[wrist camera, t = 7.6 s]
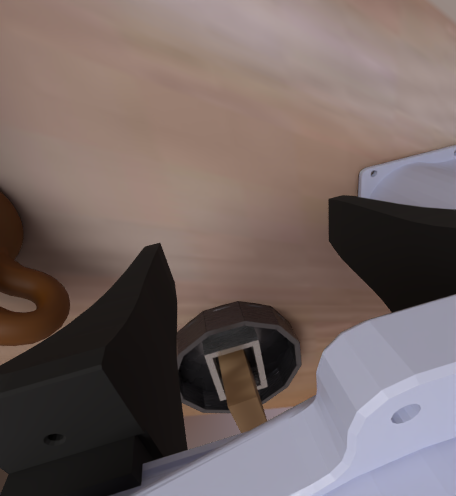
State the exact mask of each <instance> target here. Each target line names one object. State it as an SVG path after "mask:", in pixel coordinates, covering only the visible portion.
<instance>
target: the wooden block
mask: <svg viewBox="0 0 456 496" xmlns="http://www.w3.org/2000/svg"><path fill="white" fill-rule="evenodd" d="M218 359H219V364H220V369H221V374H222V380H223V385H224V390H225V395H226V400H227V405H228V408H229V410H230V412H231V414H232V416H233V418H234V420H235V422H236V424H237V426H238V428H239V430H240V431H241V433H244V432H247V431H250V430H252V429H253V428H255V427H257V426H259V425H261V424H263V423H265V422H266V421H267V419H266V416H265V413H264V409H263V406H262V403H261V399H260V396H259V393H258V389H257V386H256V383H255V380H254V376H253V373H252V370H251V366H250V363H249V361H248V358H247V355H246V353H245V350H244V349H242V350H238V351H235V352H231V353H228V354H225V355H221V356H218Z"/></svg>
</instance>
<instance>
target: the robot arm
mask: <svg viewBox="0 0 456 496" xmlns="http://www.w3.org/2000/svg"><path fill="white" fill-rule="evenodd" d="M455 150H456V145H453V146H449V147H445V148H441V149H437V150H434V151H430V152H426V153H422V154H418V155H414V156H410V157H406V158H402V159H398V160H394V161H390V162H386V163H382V164H378V165H374V166H371V167H367V168H364V169H362V170H361V172H360V174H359V189H358V197H356V196H345V195H342V196H338V197H334V198H331V199H329V242H330V243H331V245H332V246H333V248H334V249H335V250H336V252H337V253H338V254H339V256H340V257H341V258H342V259H343V260H344V261H345V262H346V263H347V264H348V265H349V267H350V268H351V269H352V270H353V271H354V272H355V273H356V274H357V275H358V276H359V277H360V278H361V279H362V280H363V281H364V282H365V283H366V284H367V285H368V286H369V287H370V288H371V289H372V290H373V291H374V292H375V293H376V294H377V295H378V296H379V297H380V298H381V299H382V300H383V302H384V303H385V304H386V305H387V307H388V308H389V309H390V310H391V312H392V313H390V314H386V315H383V316H379V317H376V318H372V319H369V320H366V321H363V322H361V323H359V324H357V325H355V326H353V327H351V328H349V329H347V330H345V331H343V332H341V333H340V334H339V335H338V336H337V337H336V338H335V339H334V340H333V341H332V342H331V343H330V344H329V345H328V346H327V347H326V348H325V349H324V351H323V353H322V356H321V359H320V362H319V365H318V368H317V372H316V376H317V394H316V395H315V396H313V397H311V398H309V399H307V400H306V401H304V402H302V403H300V404H298V405H296V406H294V407H293V408H291V409H289V410H287V411H285V412H283V413H282V414H280V415H278V416H276V417H274V418H272V419H270V420H268V421H266V422H265V423H263V424H261V425H259V426H257V427H255V428H253V429H252V430H250V431H247V432H244V433H240V434H237V435H234V436H231V437H228V438H224V439H221V440H218V441H215V442H211V443H208V444H205V445H202V446H199V447H195V448H192V449H189V450H188V449H187V442H186V435H185V427H184V419H183V411H182V403H181V394H180V385H179V375H178V365H177V297H176V289H175V282H174V280H173V277H172V274H171V271H170V268H169V266H168V263H167V260H166V257H165V255H164V252H163V249H162V246H161V244H160V243H157V244H153V245H149V246H146V247H144V248H143V250H142V251H141V252H140V253H139V255H138V256H137V257H136V259H135V260H134V261H133V262H132V264H131V265H130V266H129V268H128V269H127V270H126V271H125V273H124V274H123V275H122V276H121V277H120V278H119V279H118V280H117V282H116V283H115V284H114V285H113V286H112V287H111V288H110V289H109V290H108V291H107V292H106V293H105V294H104V295H103V296H102V297H101V298H100V299H99V300H98V301H97V302H96V303H94V304H93V305H92V306H91V307H90V308H89V309H87V310H86V311H85V312H84V313H82V314H81V315H80V316H78V317H77V318H76V319H75V320H73V321H72V322H71V323H69V324H68V325H67V326H65V327H64V328H62V329H61V330H59V331H58V332H56V333H55V334H53V335H52V336H50V337H49V338H47V339H46V340H44V341H43V342H41V343H39V344H38V345H36V346H34V347H33V348H31V349H29V350H27V351H26V352H24V353H22V354H20V355H18V356H17V357H15V358H13V359H11V360H10V361H8V362H6V363H4V364H2V365H0V468H1V469H2V470H4V471H5V472H6V473H8V474H9V475H8V477H7V480H6V482H5V485H4V487H3V490H2V492H0V496H456V151H455ZM454 152H455V153H454ZM372 171H374V173H373V174H372V175H371V172H372Z"/></svg>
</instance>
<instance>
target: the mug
mask: <svg viewBox="0 0 456 496" xmlns="http://www.w3.org/2000/svg"><path fill="white" fill-rule="evenodd" d="M23 234H24V232H23V226H22V222H21V219H20V217H19V215H18V213H17V211H16V209H15V208H14V206H13V205H12V203H11V202H10V201H9V200H8V199H7V198H6V197H5V196H4V195H3V194H2V193H1V192H0V292H2V293H5V294H8V295H11V296H16V297H21V298H25V299H28V300H31V301H32V302H34V303H35V304H36V306H37V309H36V310H35V311H32V312H26V313H22V312H13V311H9V310H7V309H5V308H2V307H0V345H2V346H17V345H25V344H33V343H35V342H38V341H40V340H43V339H45V338H47V337H49V336H50V335H52V334H53V333H54V332H55V331H57V330H58V329H59V328H60V327H61V326H62V325H63V323H64V321H65V320H66V318H67V316H68V314H69V309H70V301H69V296H68V293H67V291H66V290H65V288H64V287H63V286H62V284H60V283H59V282H58V281H57V280H56V279H55V278H53V277H52V276H50V275H48V274H46V273H43V272H40V271H37V270H34V269H30V268H27V267H23V266H22V265H20V264H19V263H18V262H16V261H14V259H15V258H16V256H17V255H18V253H19V251H20V249H21V246H22V243H23Z"/></svg>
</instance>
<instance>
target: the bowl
mask: <svg viewBox="0 0 456 496" xmlns="http://www.w3.org/2000/svg"><path fill="white" fill-rule="evenodd" d="M242 349H244V350H245V353H246V355H247V358H248V361H249V363H250V366H251V370H252V373H253V376H254V380H255V383H256V386H257V389H258V393H259V396H260V399H261V403H262V404H264V403H266V402H267V401H268V400H270V399H271V398H273V397H274V396H276V395H277V394H278V393H280V392H281V391H283V390H284V389H286V388H287V387H288V386H289V384H290V383H291V381H292V379H293V378H294V376H295V375H296V373H297V371H298V370H299V368H300V367H301V354H300V342H299V341H298V339H297V337H296V335H295V333H294V331H293V329H292V327H291V325H290V323H289V322H288V321H287V320H285V319H284V318H283V317H282V316H281V315H280V314H279V313H278V312H276V311H275V310H274V309H273V308H272V307H271V306H266V305H260V304H255V303H246V302H239V301H238V302H234V303H230V304H226V305H222V306H219V307H215V308H212V309H209V310H205V311H203V312H201V313H200V314H199V315H198V316H197V317H195V318H194V319H193V320H191V321H190V322H189V323H188V324H186V325H185V326H184V327H183V328H182V329H181V330H180V331H178V332H177V365H178V375H179V385H180V394H181V403H183V404H186V405H188V406H190V407H192V408H194V409H196V410H198V411H200V412H202V413H231V412H230V410H229V408H228V405H227V400H226V395H225V390H224V385H223V380H222V374H221V369H220V364H219V359H218V356H221V355H225V354H228V353H231V352H235V351H238V350H242Z"/></svg>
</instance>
